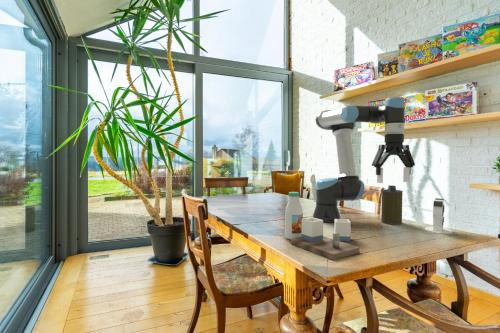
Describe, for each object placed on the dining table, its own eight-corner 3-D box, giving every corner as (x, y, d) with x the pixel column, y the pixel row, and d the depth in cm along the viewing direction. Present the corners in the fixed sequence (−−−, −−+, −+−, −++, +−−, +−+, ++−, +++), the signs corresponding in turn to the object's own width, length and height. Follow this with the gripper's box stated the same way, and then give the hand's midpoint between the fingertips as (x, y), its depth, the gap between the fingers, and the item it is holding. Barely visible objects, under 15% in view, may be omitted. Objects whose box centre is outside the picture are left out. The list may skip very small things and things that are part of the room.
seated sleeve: (301, 238, 116) (301, 219, 115) (312, 236, 119) (312, 217, 119) (312, 242, 111) (312, 221, 110) (322, 239, 114) (323, 220, 114)
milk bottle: (284, 239, 121) (284, 193, 120) (285, 235, 128) (285, 191, 128) (303, 240, 120) (303, 193, 119) (302, 235, 127) (302, 191, 127)
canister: (405, 225, 147) (405, 186, 146) (383, 224, 149) (384, 186, 148) (398, 220, 158) (399, 184, 157) (378, 219, 160) (379, 184, 159)
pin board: (290, 243, 115) (290, 226, 115) (315, 238, 123) (315, 222, 123) (333, 260, 97) (334, 239, 97) (359, 252, 104) (359, 233, 104)
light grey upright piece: (452, 235, 128) (452, 202, 127) (422, 231, 135) (423, 200, 134) (452, 229, 137) (453, 199, 137) (425, 226, 144) (425, 197, 144)
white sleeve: (335, 240, 120) (335, 221, 119) (334, 236, 125) (334, 218, 125) (350, 241, 118) (350, 222, 118) (348, 237, 124) (348, 219, 124)
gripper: (375, 132, 116) (374, 183, 117) (425, 133, 122) (423, 182, 123) (363, 133, 124) (362, 182, 125) (411, 134, 130) (410, 181, 131)
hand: (393, 182), depth 124 cm, fingers open, 13 cm apart
